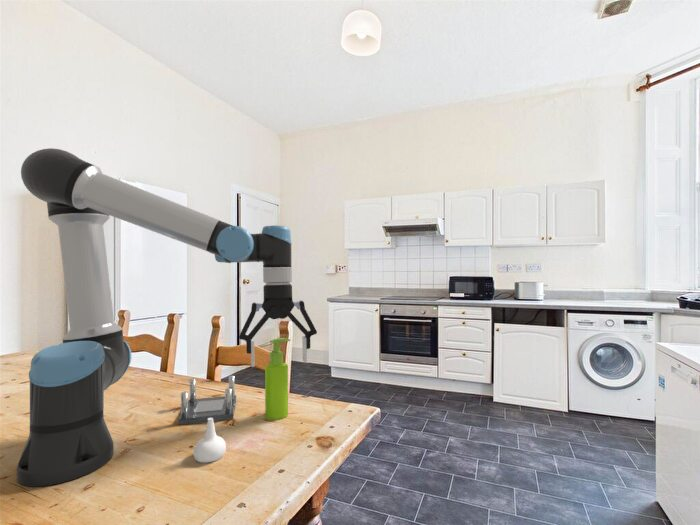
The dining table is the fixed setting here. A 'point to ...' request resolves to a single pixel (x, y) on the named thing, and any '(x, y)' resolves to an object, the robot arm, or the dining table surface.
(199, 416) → the display stand
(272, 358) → the soap dispenser
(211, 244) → the robot arm
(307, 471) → the dining table surface
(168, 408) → the dining table surface
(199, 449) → the garlic bulb
